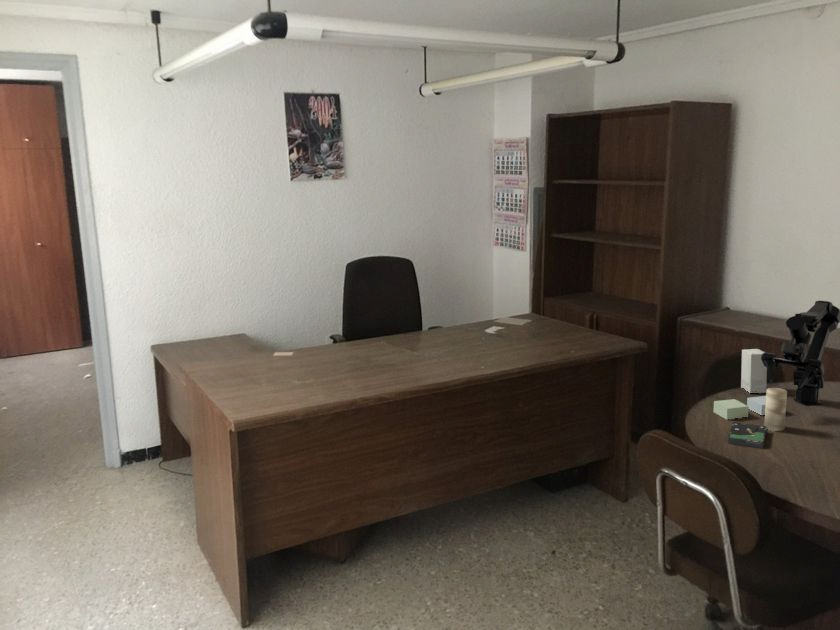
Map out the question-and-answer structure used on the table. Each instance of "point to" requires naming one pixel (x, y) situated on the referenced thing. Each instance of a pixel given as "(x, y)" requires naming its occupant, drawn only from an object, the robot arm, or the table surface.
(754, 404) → the blue-grey block
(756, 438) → the disk drive
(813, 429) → the table surface
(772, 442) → the table surface
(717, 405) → the sage block
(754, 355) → the skincare box
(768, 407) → the birch cylinder
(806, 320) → the robot arm
